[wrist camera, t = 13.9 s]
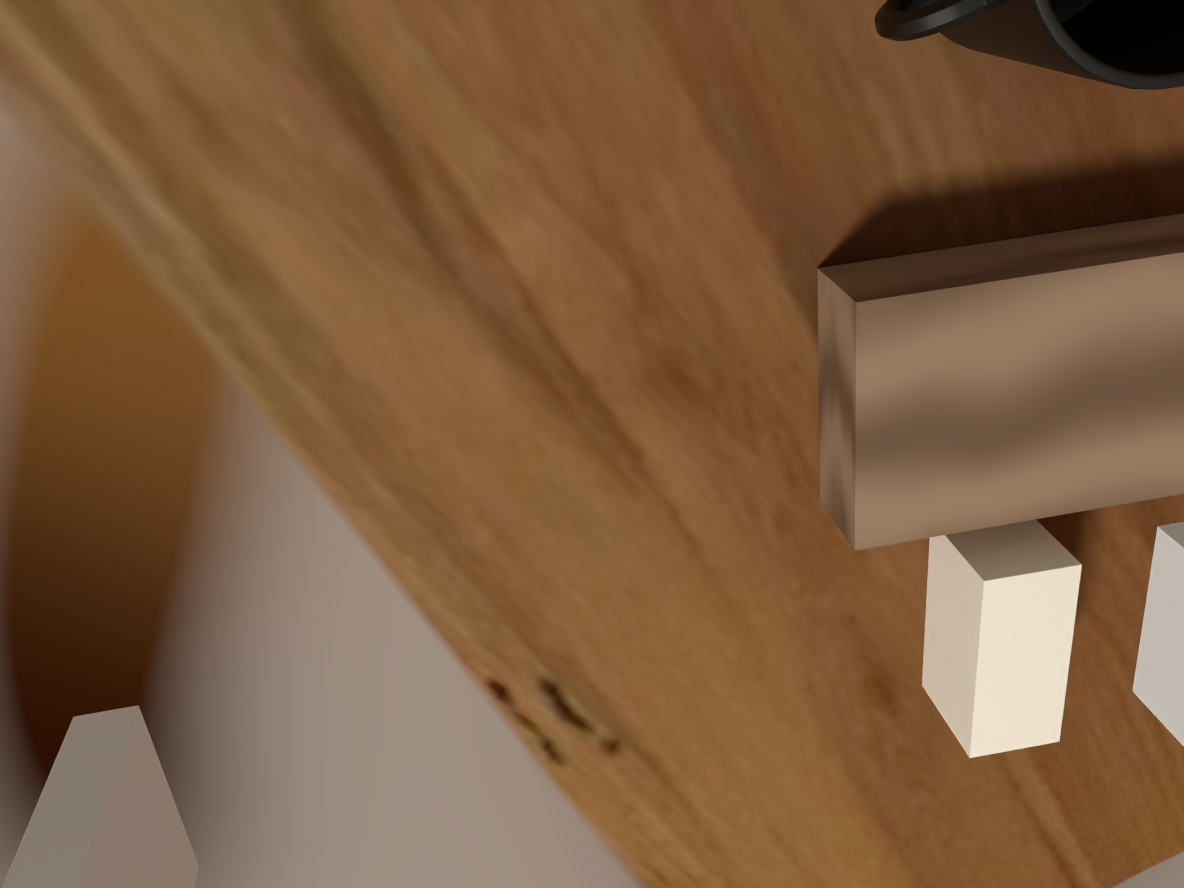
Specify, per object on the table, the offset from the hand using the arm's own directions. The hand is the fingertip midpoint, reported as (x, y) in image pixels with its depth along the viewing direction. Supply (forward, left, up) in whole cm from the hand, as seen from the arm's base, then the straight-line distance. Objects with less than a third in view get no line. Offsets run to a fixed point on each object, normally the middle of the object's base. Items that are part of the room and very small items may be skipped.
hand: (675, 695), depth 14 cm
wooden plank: (+9, +21, -27) cm, 35 cm away
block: (+16, +18, -24) cm, 34 cm away
